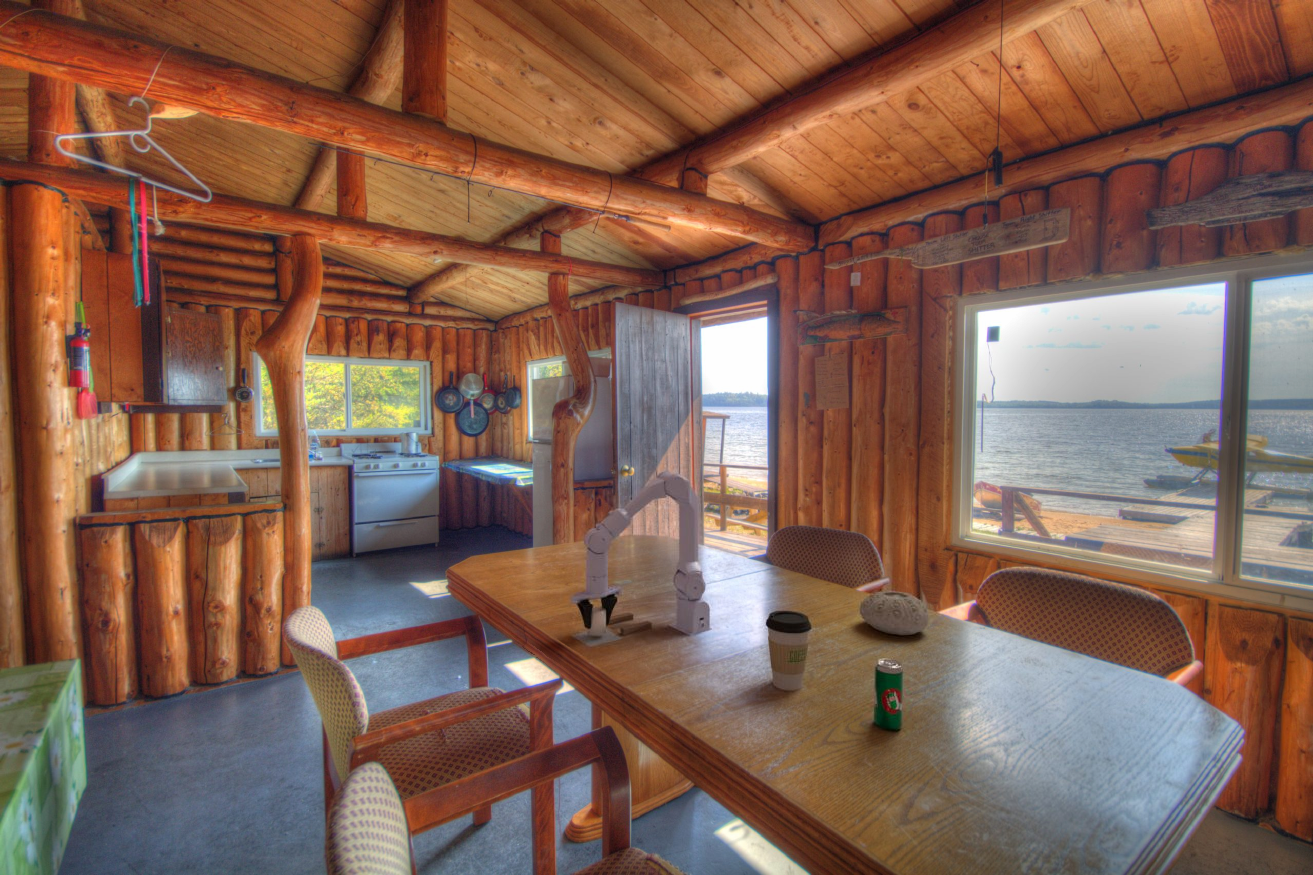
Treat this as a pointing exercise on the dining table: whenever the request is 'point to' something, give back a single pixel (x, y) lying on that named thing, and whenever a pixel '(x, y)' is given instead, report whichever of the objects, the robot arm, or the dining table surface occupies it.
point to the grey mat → (596, 638)
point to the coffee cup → (788, 648)
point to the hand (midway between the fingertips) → (596, 625)
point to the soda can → (888, 694)
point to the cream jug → (597, 621)
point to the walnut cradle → (627, 624)
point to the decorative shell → (894, 612)
